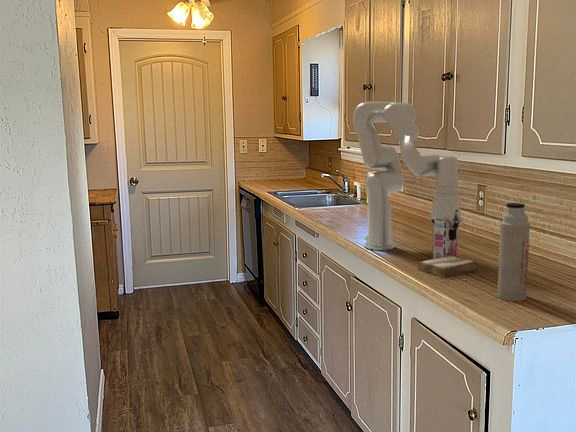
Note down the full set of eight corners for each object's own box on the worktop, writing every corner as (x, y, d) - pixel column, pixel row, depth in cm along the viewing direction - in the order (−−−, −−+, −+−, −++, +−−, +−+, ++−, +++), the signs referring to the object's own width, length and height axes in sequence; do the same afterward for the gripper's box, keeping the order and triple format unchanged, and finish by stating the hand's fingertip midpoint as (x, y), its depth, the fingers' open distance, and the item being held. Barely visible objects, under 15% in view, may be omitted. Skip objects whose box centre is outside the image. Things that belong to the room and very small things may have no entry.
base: (418, 270, 201) (418, 261, 200) (449, 263, 209) (449, 255, 209) (444, 277, 191) (444, 268, 190) (476, 270, 200) (476, 261, 199)
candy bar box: (444, 264, 208) (445, 220, 205) (432, 262, 211) (432, 218, 208) (457, 258, 217) (458, 215, 214) (445, 256, 220) (446, 214, 217)
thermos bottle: (531, 297, 169) (536, 203, 164) (516, 302, 164) (520, 206, 159) (507, 291, 175) (511, 200, 170) (491, 296, 170) (495, 203, 166)
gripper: (421, 189, 215) (421, 235, 218) (458, 193, 200) (456, 243, 203) (436, 187, 219) (435, 233, 222) (472, 191, 204) (471, 240, 207)
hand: (445, 237), depth 212 cm, fingers closed on candy bar box, 6 cm apart
